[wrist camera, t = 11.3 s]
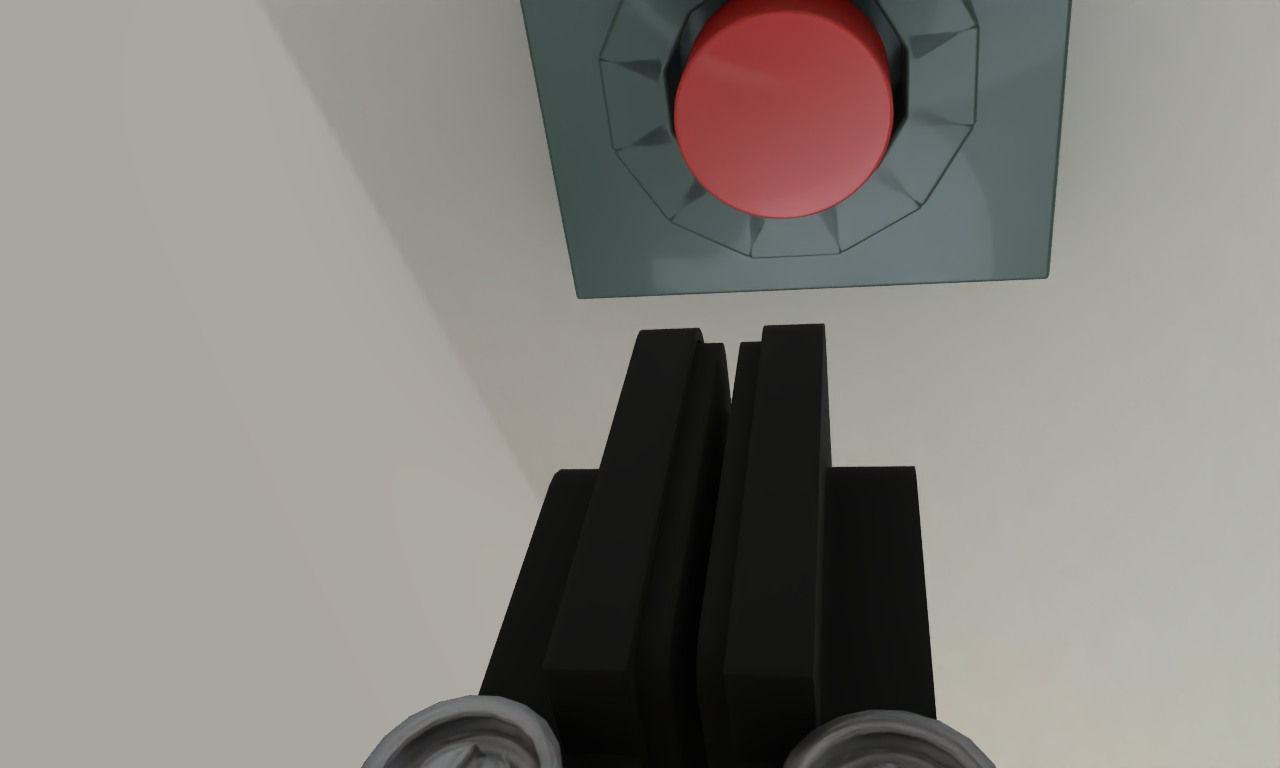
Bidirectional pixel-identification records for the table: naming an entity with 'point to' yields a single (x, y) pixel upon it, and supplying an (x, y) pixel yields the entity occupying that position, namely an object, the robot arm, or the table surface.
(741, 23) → the lid button
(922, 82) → the green button base
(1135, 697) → the table surface
